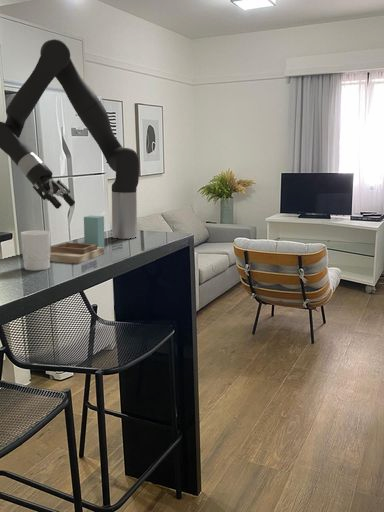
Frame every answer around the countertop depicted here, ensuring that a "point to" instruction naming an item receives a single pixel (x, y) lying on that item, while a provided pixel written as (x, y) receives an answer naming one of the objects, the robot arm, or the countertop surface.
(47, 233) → the white cup
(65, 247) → the tan flat rimmed tray
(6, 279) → the countertop surface
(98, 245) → the pale teal block
